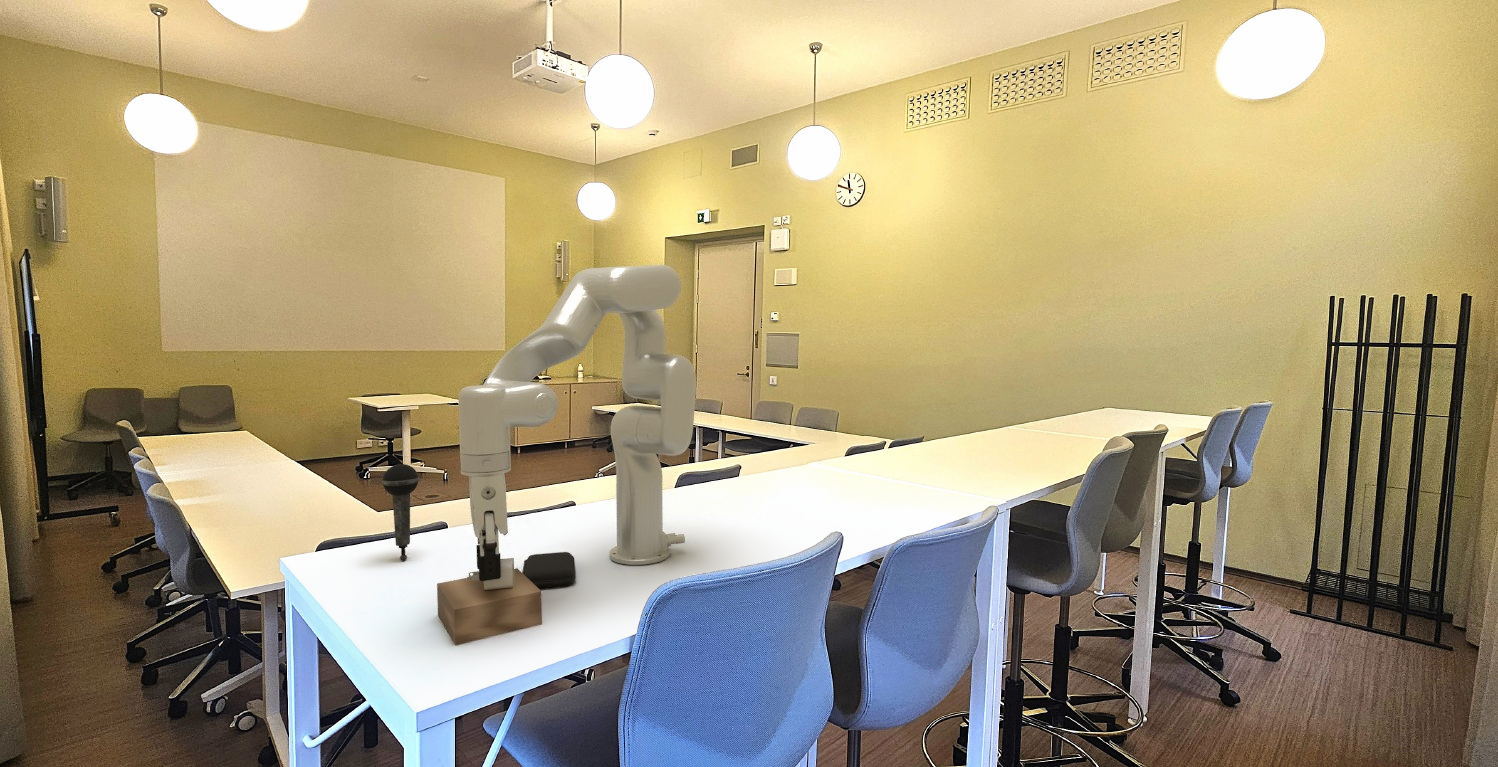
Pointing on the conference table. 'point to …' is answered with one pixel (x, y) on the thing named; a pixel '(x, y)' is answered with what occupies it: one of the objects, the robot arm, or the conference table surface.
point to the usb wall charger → (504, 580)
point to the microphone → (401, 500)
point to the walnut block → (487, 608)
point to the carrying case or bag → (550, 569)
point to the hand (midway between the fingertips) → (488, 572)
